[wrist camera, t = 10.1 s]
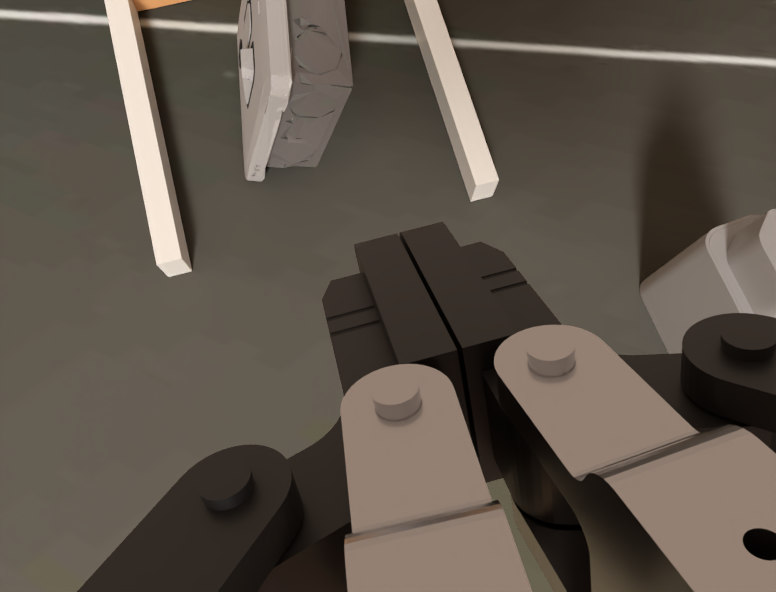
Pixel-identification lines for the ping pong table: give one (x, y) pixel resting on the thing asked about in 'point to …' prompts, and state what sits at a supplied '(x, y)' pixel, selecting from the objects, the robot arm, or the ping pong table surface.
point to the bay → (151, 145)
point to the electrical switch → (291, 80)
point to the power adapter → (715, 278)
